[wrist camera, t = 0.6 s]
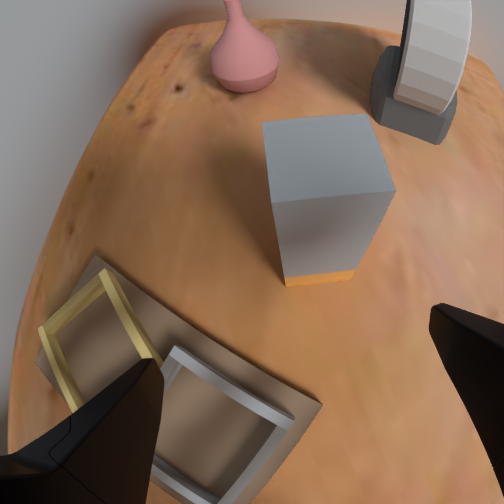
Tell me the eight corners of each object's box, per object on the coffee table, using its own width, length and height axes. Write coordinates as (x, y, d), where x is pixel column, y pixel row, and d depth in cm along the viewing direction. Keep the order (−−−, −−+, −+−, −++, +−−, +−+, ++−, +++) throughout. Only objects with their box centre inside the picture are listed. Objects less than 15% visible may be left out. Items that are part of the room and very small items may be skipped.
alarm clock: (378, 57, 32) (388, -59, 15) (447, 81, 29) (477, -29, 12) (359, 130, 27) (377, -41, 11) (450, 163, 25) (518, 14, 8)
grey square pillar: (350, 279, 22) (395, 190, 11) (285, 287, 23) (271, 203, 11) (340, 227, 24) (366, 114, 12) (280, 234, 25) (261, 122, 13)
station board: (321, 403, 19) (324, 408, 17) (229, 524, 16) (221, 537, 14) (99, 256, 26) (84, 246, 24) (40, 361, 23) (23, 359, 21)
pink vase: (280, 103, 30) (268, 7, 19) (213, 106, 31) (183, 18, 20) (283, 66, 33) (273, -16, 22) (224, 69, 34) (202, -8, 23)
